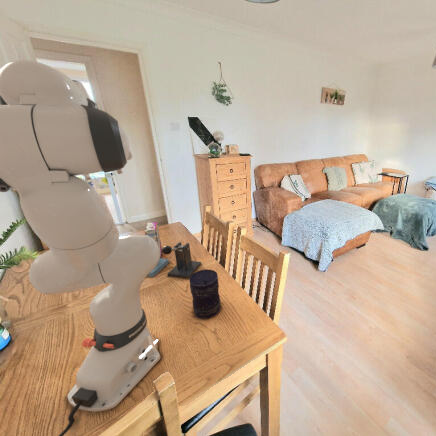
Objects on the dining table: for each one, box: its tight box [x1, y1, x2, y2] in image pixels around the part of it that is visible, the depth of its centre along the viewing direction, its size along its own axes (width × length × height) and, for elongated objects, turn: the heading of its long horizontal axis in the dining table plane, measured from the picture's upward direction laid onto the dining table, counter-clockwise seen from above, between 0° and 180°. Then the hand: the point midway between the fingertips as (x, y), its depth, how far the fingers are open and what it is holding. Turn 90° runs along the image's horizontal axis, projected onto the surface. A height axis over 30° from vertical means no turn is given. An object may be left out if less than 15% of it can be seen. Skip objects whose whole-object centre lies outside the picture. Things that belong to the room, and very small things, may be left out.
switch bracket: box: [167, 241, 202, 280], centre depth 112 cm, size 12×10×14 cm
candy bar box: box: [144, 221, 163, 258], centre depth 123 cm, size 11×5×16 cm, turn 25°
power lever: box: [161, 244, 185, 255], centre depth 104 cm, size 14×4×4 cm, turn 173°
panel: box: [146, 257, 170, 278], centre depth 113 cm, size 12×10×4 cm
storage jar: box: [188, 269, 221, 320], centre depth 89 cm, size 10×10×15 cm
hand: (104, 176), depth 85 cm, fingers open, 8 cm apart
